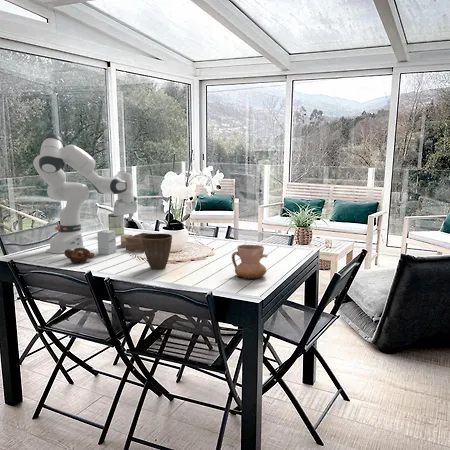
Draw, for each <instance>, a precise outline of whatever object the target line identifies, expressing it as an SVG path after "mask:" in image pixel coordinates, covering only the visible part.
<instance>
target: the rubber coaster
mask: <svg viewBox="0 0 450 450" xmlns="http://www.w3.org/2000/svg"><path fill="white" fill-rule="evenodd" d="M116 248H122V249H123V248H125V249H126V246H121V243H120V244H116Z"/></svg>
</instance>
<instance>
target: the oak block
mask: <svg viewBox="0 0 450 450" xmlns="http://www.w3.org/2000/svg"><path fill="white" fill-rule="evenodd" d="M130 236H133V234H125V233H124V235H121V236H120V244H121V246H126V238H127V237H130Z"/></svg>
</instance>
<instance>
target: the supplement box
mask: <svg viewBox="0 0 450 450" xmlns="http://www.w3.org/2000/svg"><path fill="white" fill-rule="evenodd" d="M96 233H97V234H96V235H97V254H98V255H105V256H107V255H109V256H110V255H111V254H114V253H116V251H117V247H116V246H117V244H116V243H117V242H116V241H117V239H116V236H115V231H113V230H109V229H103V230H100V231H97V232H96Z"/></svg>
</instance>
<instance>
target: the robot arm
mask: <svg viewBox="0 0 450 450" xmlns="http://www.w3.org/2000/svg"><path fill="white" fill-rule="evenodd" d="M32 165H33V168H34V169H35V171H36V173H38V175H39V176H40V177H41V179H43V181H44V182H45V183H46V184H47V189H46V194H47V196H48V197H49V199H51V200H54V201H58V202H66V204H65V207H63V208H62V209H60V211H59V226H54V230H55V231H57V233H55V235H54V237H53V238H52V239H51V240H50V243H49V244H50V245H49V247H50V248H47V249H46V250H45V252H46V253H48V254H64V252H65V250H67V249H71V250H74V249H76V248H85V249H86V246H85V245H84V241H83V235H82V232H81V230H82V225H81V221H80V220H81V219H80V218H81V217H80V215H81V213H80V212H81V207H82V205H83V203H85V201H86V200H87V199H88V198H89V195H90V189H89V187H88V185H87V184H86V183H85V184H84V183H81V182H75V181H74V182H73V181H66V179H67V174H66V173H65V172H64V170H63V169H64V168H65V166H66V165H68V166H69V167H71V168H72V169H73V170H75V171H76V172H78V173H79V174H80V175H81V176H82V177H83V178H84V179H86V180H87V181H88V182H89V183H90V184H91V185H92V186H93V188H94V189H95V191H96V192H97V193H99V194H100V195H101V194H103V195H105V194H106V195H107V194H108V195H117V199H116V200H115V202H114V204H113V213H112V214H114V216H118V219H119V223H123V220H122V215H123V216H124V215H128V217H127V220H128V222H130V221H132V220H133V219H132V218H133V214H135V213H137V210H138V202H137V201H138V197H136V196H135V195H134V194H133V176H132V174H131V172H128V171H118V172H117V174H115V175H114V176H109V177H108V176H107V177H106V176H101V175H99V174H98V173H97V172H95V171H94V170H95V168H96V160H95V159H94V157H93V156H91V154H89V153H88V152H86V151H85V150H84V149H82V148H80V147H78V146H77V145H75V144H67V145H64V140H63V138H62V137H61V136H59V135H58V134H54V133H50V134H47V135H45V136H44V138H43V140H42V143H41V146H40V150H39V155H37V156H36V157H34V160H33V163H32Z"/></svg>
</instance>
